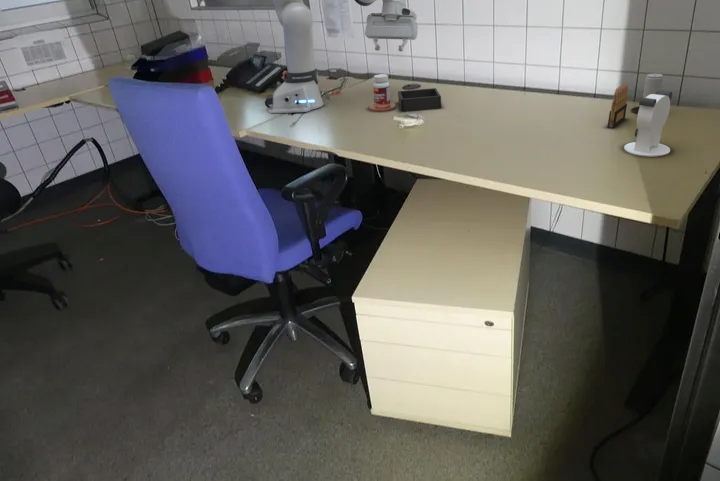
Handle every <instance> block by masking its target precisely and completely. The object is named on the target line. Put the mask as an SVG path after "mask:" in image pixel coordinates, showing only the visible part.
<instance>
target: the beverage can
mask: <svg viewBox="0 0 720 481" xmlns="http://www.w3.org/2000/svg"><path fill="white" fill-rule="evenodd" d="M663 76H664V75H663V74H661V73H647V74H646V77H645V81H644V89H643V93H642V97H643V98H646V97H647V96H648V95H650V94H656V92H657V90H662V86H663V80H664V77H663Z"/></svg>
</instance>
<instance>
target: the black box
mask: <svg viewBox="0 0 720 481" xmlns="http://www.w3.org/2000/svg"><path fill="white" fill-rule="evenodd" d="M397 95H398V96H397V97H398V98H397V99H398V105H399V108H400V111H401V112H413V111H424V110H436V109H441V108H442V95H441V93H440V92H439V91H438V89H437V88H436V87H432V88H420V89H411V90H399V91H397Z"/></svg>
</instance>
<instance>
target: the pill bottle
mask: <svg viewBox="0 0 720 481" xmlns="http://www.w3.org/2000/svg"><path fill="white" fill-rule="evenodd" d="M373 81H374V83H373V84H372V87H373V90H372V91H373V104H374V105H375V107H378V108H384V107H388V106H390V103H391V88H390V87H391V86H390V82H389V75H388V74H386V73H381V74H375V75H374V76H373Z"/></svg>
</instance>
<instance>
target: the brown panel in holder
mask: <svg viewBox="0 0 720 481" xmlns="http://www.w3.org/2000/svg"><path fill="white" fill-rule="evenodd" d="M628 90H629V83H628V81H625V82H624V83H622V84H621V85H619V86H618V87H617V88H616V89H615V90H614V93H613V97H612V102H611V106H610V110H609V113H608V121H607V129H615V128H616V127H617V126H619V124H621V123H622V122H623V121H625V120H626V115H627V114H626V113H627V107H628V102H627V101H628Z"/></svg>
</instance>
